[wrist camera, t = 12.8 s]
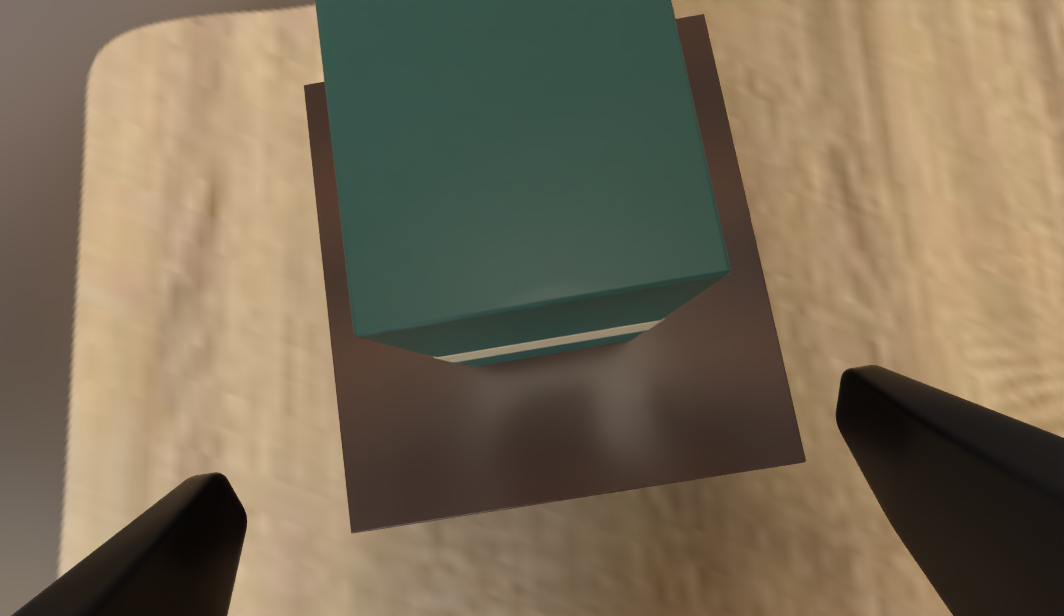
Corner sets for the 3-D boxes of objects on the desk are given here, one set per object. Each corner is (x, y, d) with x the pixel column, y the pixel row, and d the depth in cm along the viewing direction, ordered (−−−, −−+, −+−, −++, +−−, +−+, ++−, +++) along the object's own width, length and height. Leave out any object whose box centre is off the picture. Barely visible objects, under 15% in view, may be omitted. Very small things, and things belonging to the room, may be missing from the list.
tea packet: (598, 156, 18) (645, -130, 8) (633, 341, 17) (736, 275, 7) (443, 183, 18) (304, -67, 8) (471, 368, 17) (350, 339, 7)
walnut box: (754, 446, 21) (806, 462, 16) (394, 503, 21) (350, 534, 17) (676, 85, 23) (704, 13, 18) (351, 141, 23) (303, 84, 19)
